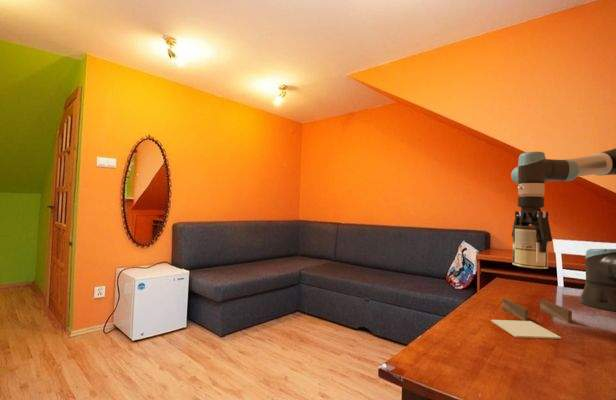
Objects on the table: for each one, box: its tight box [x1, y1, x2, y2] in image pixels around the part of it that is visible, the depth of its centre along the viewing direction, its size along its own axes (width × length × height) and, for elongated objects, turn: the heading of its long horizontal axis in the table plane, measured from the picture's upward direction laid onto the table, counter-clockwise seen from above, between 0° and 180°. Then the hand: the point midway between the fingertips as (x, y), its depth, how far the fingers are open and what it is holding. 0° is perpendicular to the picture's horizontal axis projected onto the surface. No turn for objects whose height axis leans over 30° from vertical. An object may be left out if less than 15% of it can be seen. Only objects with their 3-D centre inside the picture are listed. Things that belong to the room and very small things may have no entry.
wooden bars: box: [501, 297, 573, 324], centre depth 109 cm, size 15×13×4 cm
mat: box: [490, 319, 562, 340], centre depth 96 cm, size 13×13×1 cm
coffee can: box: [512, 224, 549, 270], centre depth 106 cm, size 10×10×14 cm
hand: (529, 259), depth 106 cm, fingers closed on coffee can, 10 cm apart
